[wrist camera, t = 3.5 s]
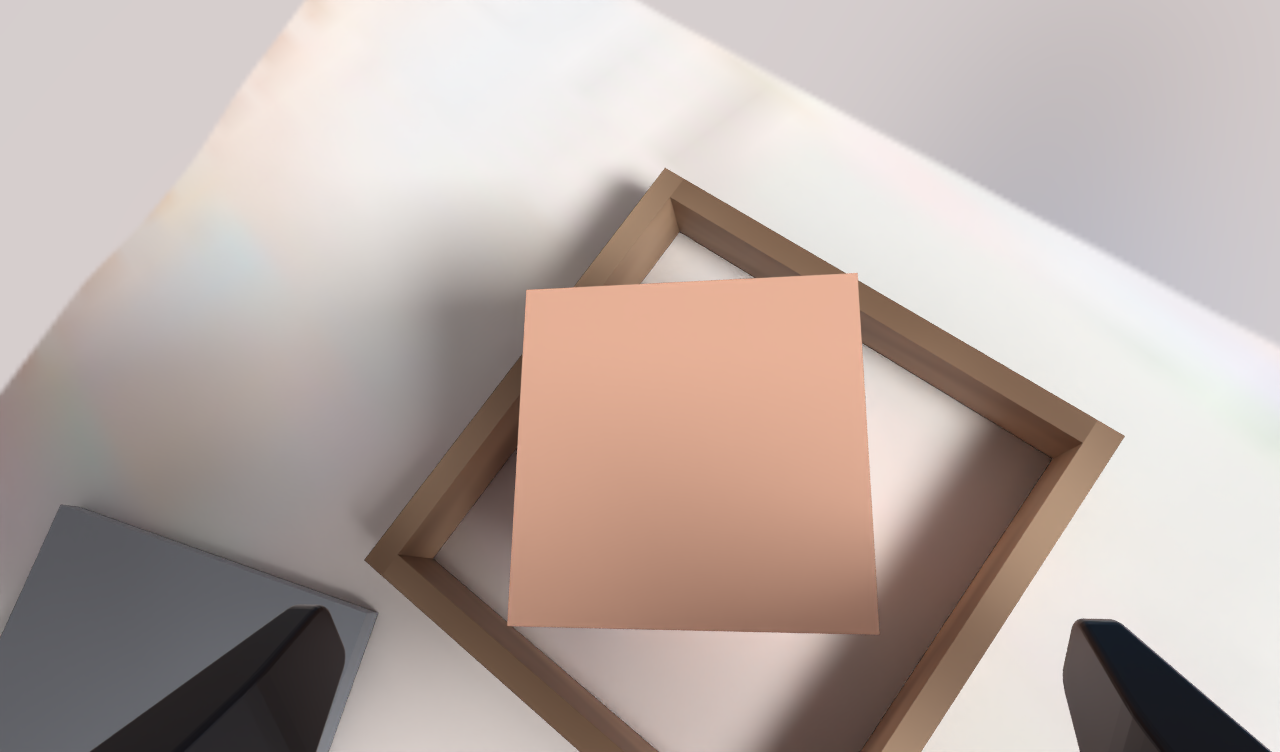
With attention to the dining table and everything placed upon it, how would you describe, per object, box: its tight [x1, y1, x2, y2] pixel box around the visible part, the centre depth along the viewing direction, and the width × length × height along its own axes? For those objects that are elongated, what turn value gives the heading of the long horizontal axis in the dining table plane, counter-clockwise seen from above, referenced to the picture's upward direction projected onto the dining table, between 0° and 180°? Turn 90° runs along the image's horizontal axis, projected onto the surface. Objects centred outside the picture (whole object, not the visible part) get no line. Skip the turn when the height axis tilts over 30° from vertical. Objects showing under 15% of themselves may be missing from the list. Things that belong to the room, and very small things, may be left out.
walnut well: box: [365, 168, 1125, 752], centre depth 19 cm, size 12×12×2 cm
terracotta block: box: [507, 273, 880, 635], centre depth 16 cm, size 5×5×9 cm
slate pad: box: [0, 505, 378, 752], centre depth 20 cm, size 10×10×1 cm
